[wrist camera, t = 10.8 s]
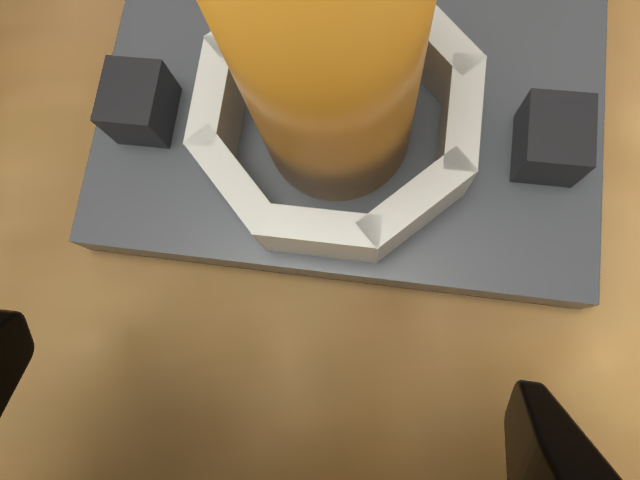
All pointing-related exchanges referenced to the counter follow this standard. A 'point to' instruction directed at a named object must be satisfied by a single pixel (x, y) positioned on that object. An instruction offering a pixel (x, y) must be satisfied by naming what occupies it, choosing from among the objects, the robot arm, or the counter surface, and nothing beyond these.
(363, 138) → the cap
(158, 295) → the counter surface
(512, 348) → the counter surface
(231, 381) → the counter surface
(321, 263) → the ball rail dock
